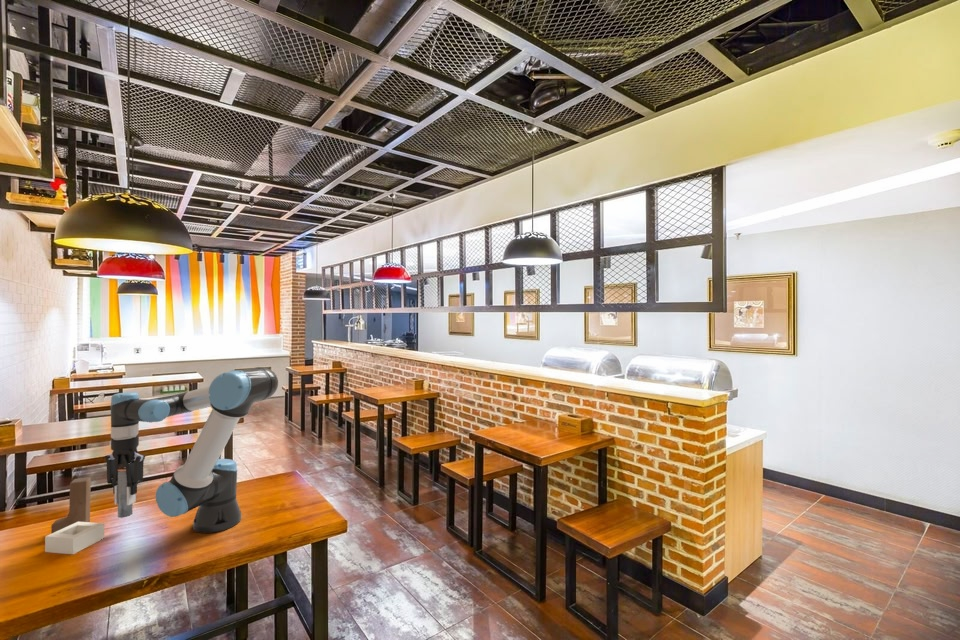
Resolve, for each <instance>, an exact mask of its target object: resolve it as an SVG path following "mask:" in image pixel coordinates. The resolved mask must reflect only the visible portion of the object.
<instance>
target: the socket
mask: <svg viewBox="0 0 960 640" xmlns="http://www.w3.org/2000/svg"><path fill="white" fill-rule="evenodd" d="M103 538H104V539H105V523H104V522H103V523H101V522H91V521H90V522H76V523H74V524H72V525H69V526H67V527H65V528H63V529H61V530H58V531H56V532H54V533H52V534H51V533H50V534H48V535H45V537H44V541H45V542H44V553H51V554H61V555H75V554H77V553H78V552H81V551H82V550H84V549H86V548H88V547H90V546H92V545H94V544H96V543H97V542H99V541H101V539H102V540H104V539H103Z"/></svg>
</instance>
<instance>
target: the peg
mask: <svg viewBox="0 0 960 640" xmlns="http://www.w3.org/2000/svg"><path fill="white" fill-rule="evenodd" d="M117 471H118V504H117V518H118V519H119V518H121V519H123V518H126V517H127V518H128V517H130V516H132V515H133V512H134V511H133V504H134V503H133V504H130V505H127V485H129V482H128V477H127V472H126V467H122V468H119V469H117Z"/></svg>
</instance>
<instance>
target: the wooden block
mask: <svg viewBox="0 0 960 640" xmlns="http://www.w3.org/2000/svg"><path fill="white" fill-rule="evenodd" d="M91 483H92V479H91V476H87V477H79V478H74V479H73V480H72V481H70V483H69V505H68V506H69V509H68V510H69V511H68V514H67V515H66V516H64V517H60V518H57V519H56V520H54V522H52V524H51V528H50V529H51V530H50V531H51V532H50V534H52V533H54V532H56V531H58V530H61V529H63V528H65V527H67V526H69V525H72V524H74V523H76V522H91V489H92V487H91V486H92V484H91Z"/></svg>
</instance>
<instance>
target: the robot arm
mask: <svg viewBox="0 0 960 640" xmlns="http://www.w3.org/2000/svg"><path fill="white" fill-rule="evenodd" d="M278 387H279V379H278V376H277V375H276V373H275V372H274V371H273V370H271V369H270V368H267V367H259V366H257V367H250V368H246V369H241V370H238V369H234V370H229V371H227V372H226V371H225V372H223V373H220V374H218V375H217V376H216V377H214V379H213V380H212V381H211V382H210V385H208V386H204V387H201V388H197V389H194V390H193V389H192V390H190V391H185V392H180V393H177V394H171V395H166V396H160V397H156V398H150V399H147V398H146V399H141V398H140V396H139V395H140V394H139V393H138V392H135V391H125V392H119V393H115V394H113V395H112V396H111V399H110V406H109V407H110V438H111V440H110V450H111V451H112V452H111V453H110V454H107V455H105V456H104V459H105V462H106V482H107V484H109V485H112V487H113V489H112V493H113V495H114V505H115V506H116V505H117V506H118V471H117V469H119V468H122V467H126V472H127V477H128V482H129V485H127V505H130V504H134V503H137V501H136V500H137V497H136V496H137V493H138V484H140V483H142V482H143V481H144V460H145V458H146V455H145V454H140V453H139V451H138V446H139V445H140V439H139V438H140V436H139V435H138V434H139V429H140V428H139V425H140V424H139V422H143V423H159V422H163V421H164V420H165V419H166V418H170V417H173V416H177V415H181V414H182V415H183V414H186V413H187V414H188V413H191V412H193V411H197V410H202V409H203V410H204V409H207V408H211V409H212V410H211V412H210V413H209V416H208V417H207V420H206V422H205V424H204V425H203V427H202V429H201V431H200V433H199V435H198V437H197V438H196V441H195V442H194V444H193V447H191V448H192V449H191V450H190V452H189V454H188V456H187V458H186V460H185V463H184V464H183V465H180V466H178V467H177V468H176V469H175V470H174V473H173V475H172V476H171V478H170V479H169V481H164V482H163V483H162V484H160V485H159V486H158V487H157V489H156V491H155V503H156V505H157V507H158V509H159V510H160V511H161V513H162V514H164V515H165V516H167V517H170V518H173V517H174V518H176V517H179V516H181V515H185V514H187V513H188V512H191V511H192V510H194V509H196V508H197V510H196V513H195V516H194V519H193V522H192V529H193V531H194V532H196V533H199V534H211V533H217V532H218V533H219V532H221V531H224V530H227V529H231V528H232V527H234V526H236V525H238V524H239V523H240V522H241V520H242V511H241V509H240V505H239V502H238V501H237V488H238V487H237V483H238V467H237V466H238V465H237V462H236V461H235V460H234V459H229V458H220V457H221V455H222V453H223V451H224V449H225V447H226V445H227V444H228V442H229V440H230V438H231V436H232V434H233V433H234V430H235V429H236V426H237V425H238V423H239V421H240V419H241V418H245V417H246V416H247V415H248V414H249V412H250V410H251V408H252V407H253V405H254V404H255V403H259V402H261V401H262V402H263V401H265V400H267V399H268V400H269V398H271V397H272V396H273V395H275V393H276V391H277V390H278Z"/></svg>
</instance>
